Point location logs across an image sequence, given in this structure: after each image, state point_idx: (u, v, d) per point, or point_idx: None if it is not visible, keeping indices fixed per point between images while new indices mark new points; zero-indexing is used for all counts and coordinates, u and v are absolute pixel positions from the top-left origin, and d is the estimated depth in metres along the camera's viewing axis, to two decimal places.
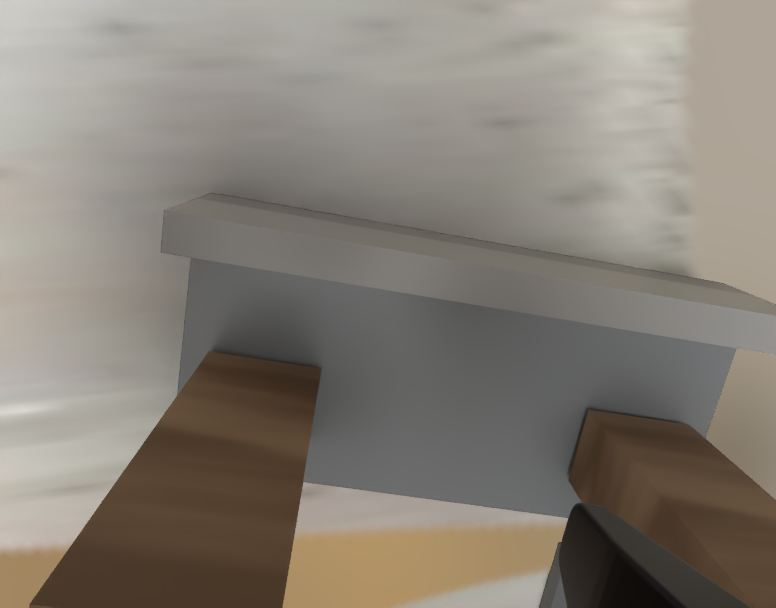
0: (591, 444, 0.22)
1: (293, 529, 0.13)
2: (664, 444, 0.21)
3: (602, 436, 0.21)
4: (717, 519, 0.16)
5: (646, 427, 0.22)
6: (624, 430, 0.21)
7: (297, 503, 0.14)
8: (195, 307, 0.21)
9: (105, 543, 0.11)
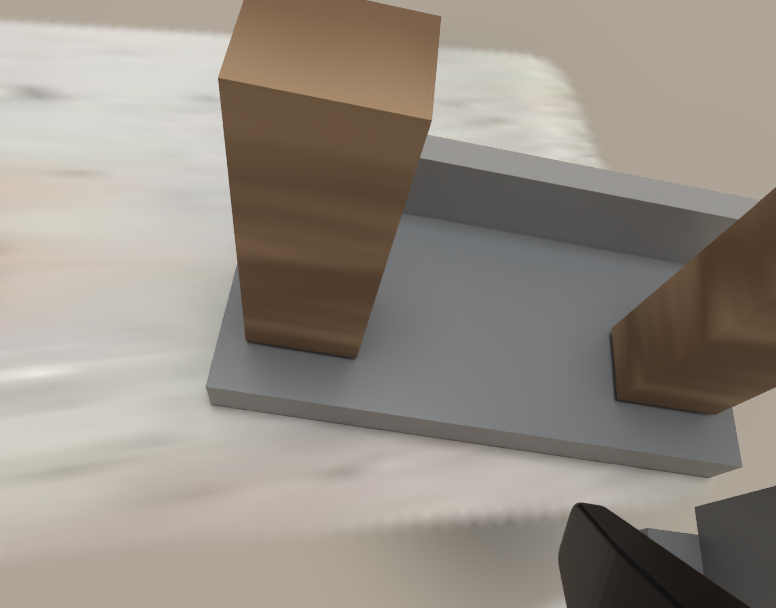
0: (625, 339, 0.23)
1: None
2: None
3: (632, 317, 0.23)
4: None
5: None
6: None
7: None
8: None
9: None
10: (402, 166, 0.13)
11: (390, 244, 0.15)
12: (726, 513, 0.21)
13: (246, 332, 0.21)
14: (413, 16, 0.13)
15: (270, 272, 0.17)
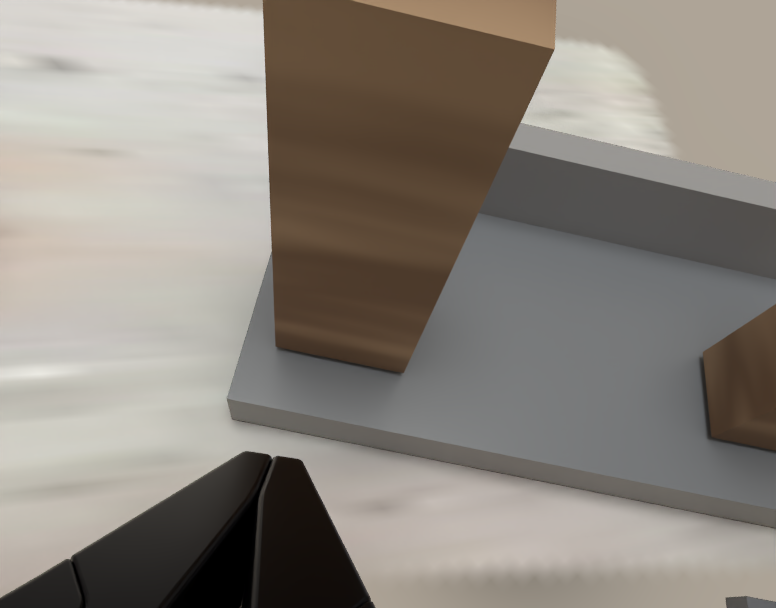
0: (723, 366, 0.19)
1: None
2: None
3: (733, 340, 0.19)
4: None
5: None
6: None
7: None
8: None
9: None
10: (500, 122, 0.09)
11: (466, 232, 0.12)
12: None
13: (277, 337, 0.18)
14: None
15: (311, 264, 0.14)
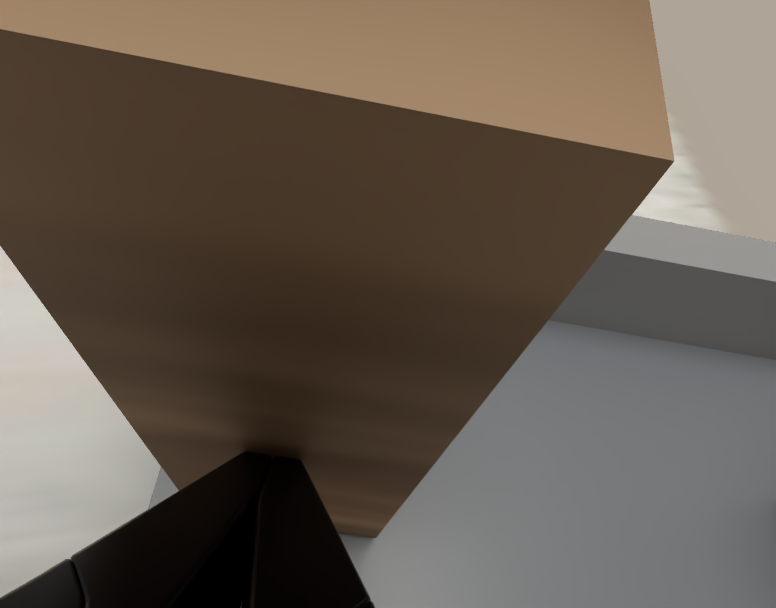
0: None
1: None
2: None
3: None
4: None
5: None
6: None
7: None
8: None
9: None
10: (519, 296, 0.04)
11: (454, 432, 0.07)
12: None
13: None
14: None
15: (206, 450, 0.09)
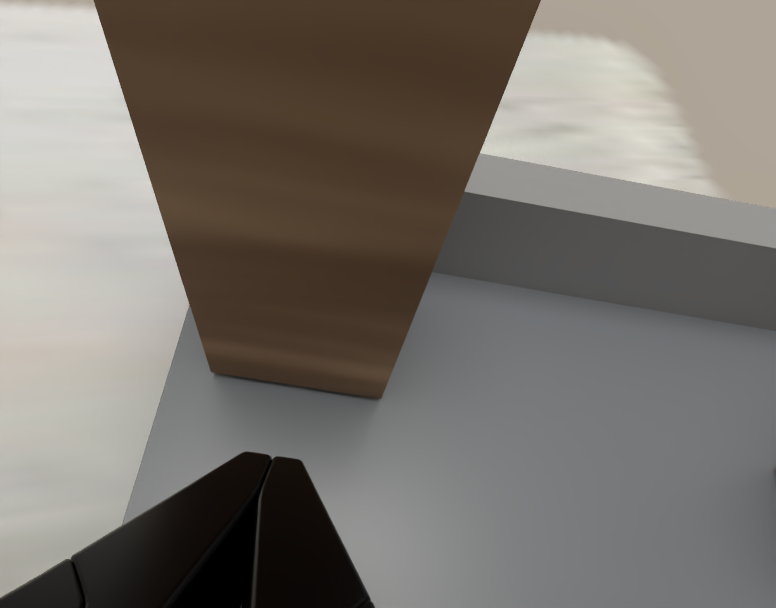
0: None
1: None
2: None
3: None
4: None
5: None
6: None
7: None
8: None
9: None
10: None
11: (456, 199, 0.08)
12: None
13: (209, 360, 0.13)
14: None
15: (231, 260, 0.10)
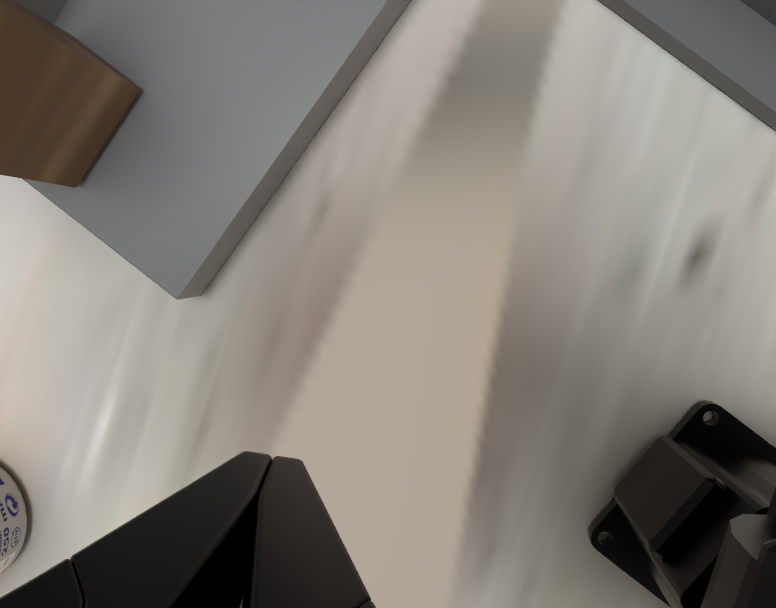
0: None
1: None
2: None
3: None
4: None
5: None
6: None
7: None
8: None
9: None
10: None
11: None
12: None
13: (63, 183, 0.20)
14: None
15: None
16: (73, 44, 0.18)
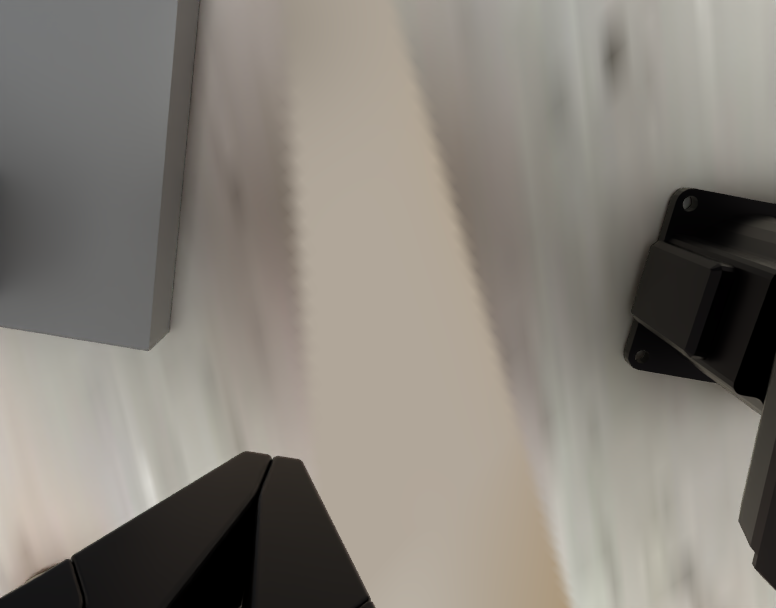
0: None
1: None
2: None
3: None
4: None
5: None
6: None
7: None
8: None
9: None
10: None
11: None
12: None
13: None
14: None
15: None
16: None
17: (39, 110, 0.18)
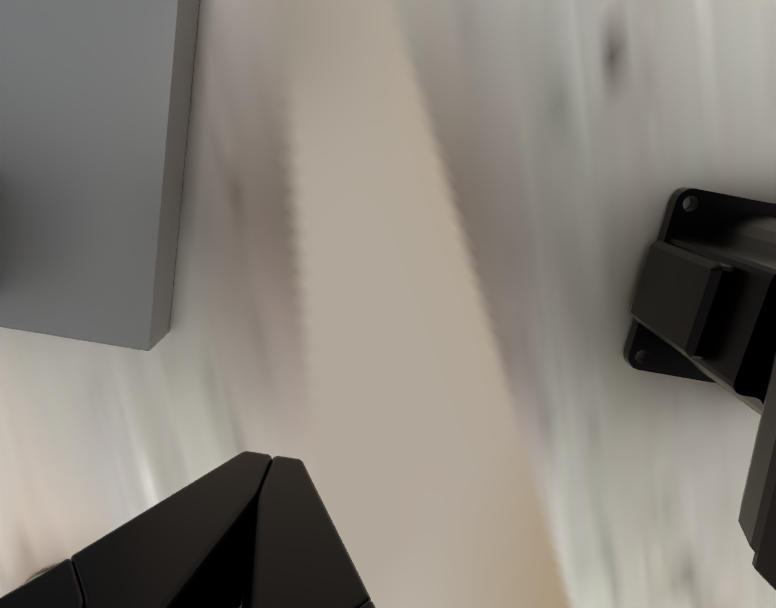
0: None
1: None
2: None
3: None
4: None
5: None
6: None
7: None
8: None
9: None
10: None
11: None
12: None
13: None
14: None
15: None
16: None
17: (39, 110, 0.18)
